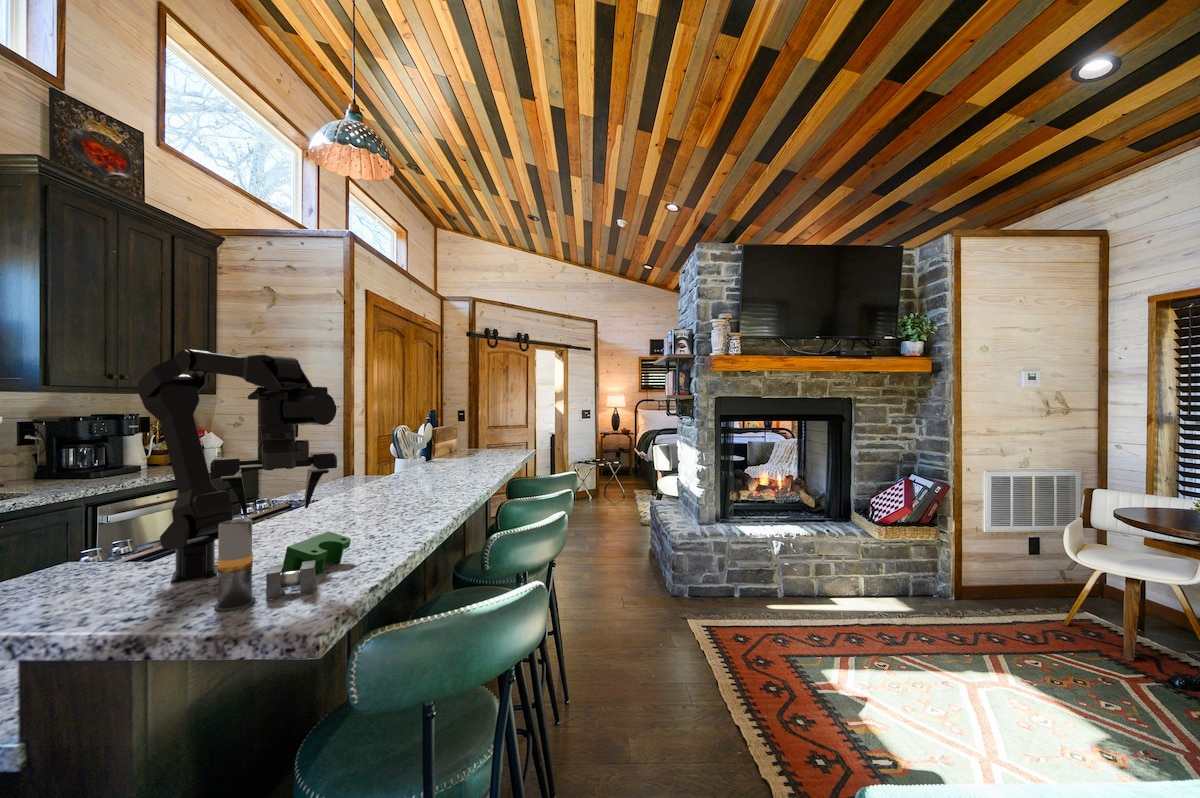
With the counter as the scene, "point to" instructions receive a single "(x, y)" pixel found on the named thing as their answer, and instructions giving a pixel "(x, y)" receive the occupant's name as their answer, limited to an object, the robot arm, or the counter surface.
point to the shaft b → (290, 579)
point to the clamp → (316, 551)
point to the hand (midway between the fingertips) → (276, 511)
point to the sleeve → (234, 563)
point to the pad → (234, 607)
